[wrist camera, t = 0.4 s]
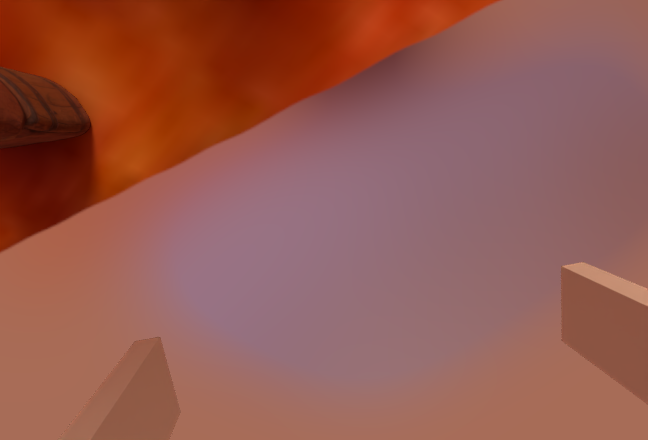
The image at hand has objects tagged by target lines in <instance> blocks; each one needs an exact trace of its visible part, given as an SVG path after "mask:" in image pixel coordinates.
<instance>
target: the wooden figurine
mask: <svg viewBox="0 0 648 440" xmlns="http://www.w3.org/2000/svg"><path fill="white" fill-rule="evenodd" d="M89 128H90V119H89V116H88V115H87V113H86V111H85V110H84V109H83V107H82V106H81V105H80V103H79V102H78V100H77V99H76V98H75V97H74V96H73V95H72V94H71V93H69V92H68V91H67V90H66V89H64V88H63V87H62V86H60V85H58V84H57V83H55V82H53V81H51V80H48V79H46V78H43V77H40V76H36V75H32V74H27V73H23V72H19V71H16V70H12V69H7V68H3V67H0V148H9V147H16V146H23V145H28V144H34V143H40V142H49V141H55V140H61V139H67V138H71V137H75V136H79V135H82V134H84V133H85V132H86V131H87V130H88V129H89Z"/></svg>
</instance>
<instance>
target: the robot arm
mask: <svg viewBox="0 0 648 440" xmlns="http://www.w3.org/2000/svg"><path fill="white" fill-rule="evenodd" d="M561 289H562V290H561V296H562V297H561V298H562V299H561V302H562V303H561V306H562V307H561V309H562V341H563V342H564V343H565V344H567V345H568V346H569V347H571V348H572V349H574V350H575V351H576V352H578V353H579V354H580V355H582V356H583V357H584V358H586V359H587V360H588V361H590V362H591V363H593V364H594V365H595V366H597V367H598V368H599V369H601V370H602V371H603V372H605V373H606V374H607V375H609V376H610V377H611V378H613V379H614V380H615V381H617V382H618V383H619V384H621V385H622V386H624V387H625V388H626V389H628V390H629V391H630V392H632V393H633V394H634V395H636V396H637V397H638V398H640V399H641V400H643V401H644V402H645V403H646V404H648V289H646V288H644V287H641V286H639V285H637V284H634V283H632V282H630V281H627V280H625V279H622V278H620V277H618V276H615V275H613V274H610V273H608V272H606V271H603V270H601V269H598V268H596V267H594V266H591V265H589V264H586V263H584V262H582V263H576V264H571V265H565V266H561ZM179 415H180V408H179V404H178V401H177V397H176V393H175V390H174V386H173V382H172V379H171V375H170V371H169V368H168V364H167V360H166V357H165V354H164V350H163V346H162V343H161V338H160V337H156V338H151V339H145V340H139V341H135V342H134V343H133V345H132V346H131V347H130V348H129V350H128V351H127V352H126V354H125V355H124V356H123V357H122V359H121V360H120V361H119V362H118V364H117V365H116V366H115V368H114V369H113V370H112V371H111V373H110V374H109V375H108V377H107V378H106V379H105V381H104V382H103V383H102V384H101V385H100V387H99V388H98V389H97V391H96V392H95V393H94V394H93V396H92V397H91V398H90V399H89V401H88V402H87V403H86V405H85V406H84V407H83V408H82V410H81V411H80V412H79V414H78V415H77V416H76V417H75V419H74V420H73V421H72V423H71V424H70V425H69V426H68V428H67V429H66V430H65V431H64V433H63V434H62V435H61V436H60V438H59V439H58V440H169V439H170V437H171V434H172V432H173V429H174V427H175V424H176V422H177V419H178V417H179Z"/></svg>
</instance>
